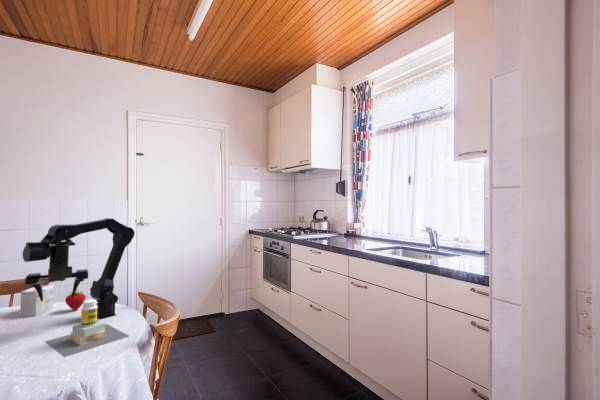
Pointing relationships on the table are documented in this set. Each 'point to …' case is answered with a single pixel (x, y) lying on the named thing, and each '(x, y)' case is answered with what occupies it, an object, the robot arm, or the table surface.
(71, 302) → the strawberry
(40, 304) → the light bulb box
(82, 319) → the supplement bottle
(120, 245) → the robot arm
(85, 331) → the tower top
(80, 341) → the tower bottom
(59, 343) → the mat
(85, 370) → the table surface
